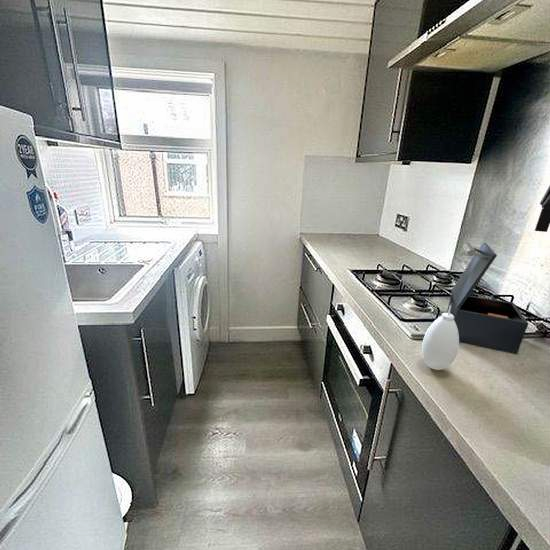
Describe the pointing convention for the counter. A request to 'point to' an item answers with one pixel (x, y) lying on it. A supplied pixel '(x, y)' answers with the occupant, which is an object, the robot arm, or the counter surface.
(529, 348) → the counter surface
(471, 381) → the counter surface
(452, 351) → the white air blower bulb
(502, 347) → the dark grey box
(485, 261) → the box lid
